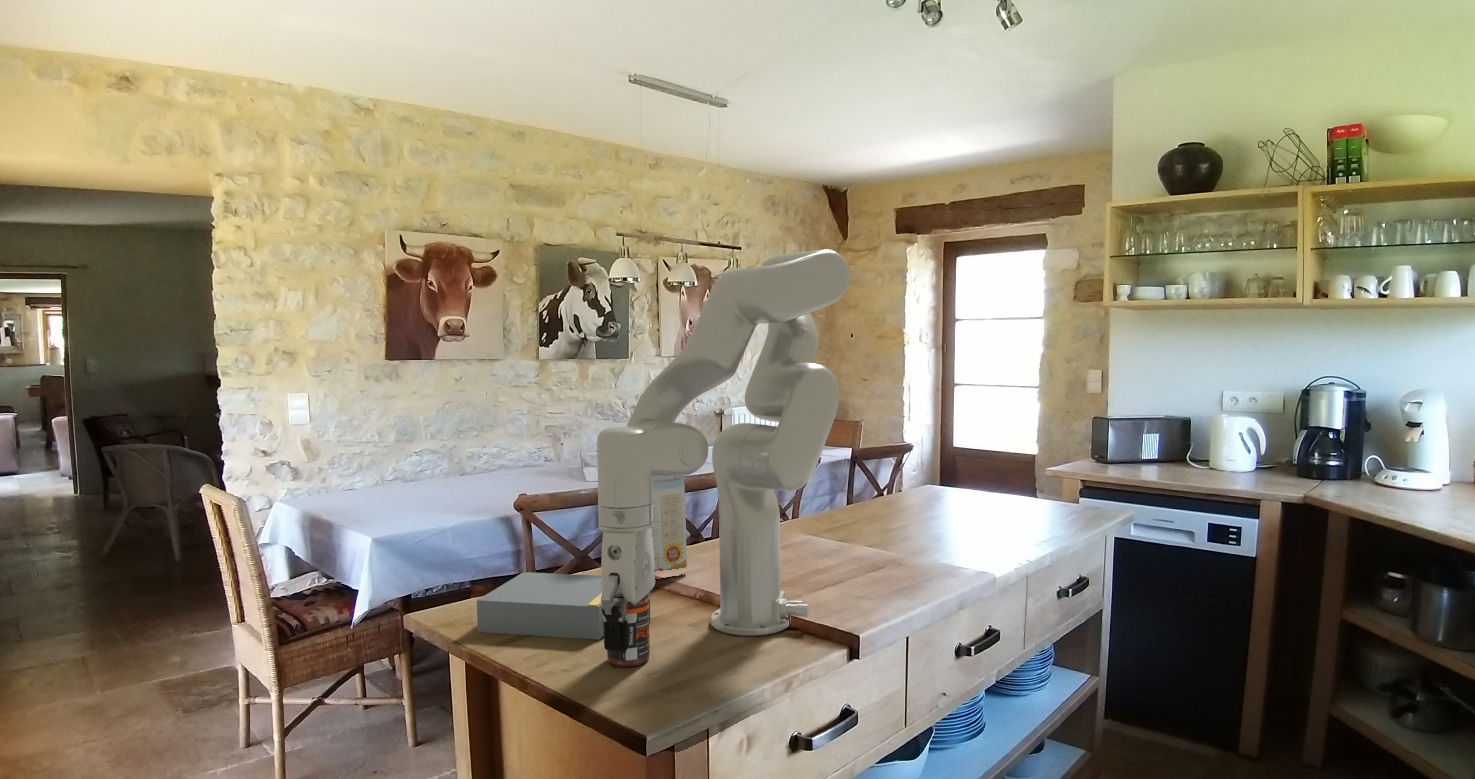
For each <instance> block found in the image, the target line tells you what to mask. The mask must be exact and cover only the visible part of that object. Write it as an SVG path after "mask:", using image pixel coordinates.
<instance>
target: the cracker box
mask: <svg viewBox="0 0 1475 779" xmlns="http://www.w3.org/2000/svg"><path fill="white" fill-rule="evenodd" d="M685 483H686V482H685V476H654V477H653V478H652V486H653V527H651V530H652V538H653V548H654V563H655V572H656V571H663V570H672V569H679V568H685V567H687V568H688V562H687V561H688V559H687V557H688V556H687V524H686V523H687V522H686V521H687V520H686V518H687V517H686V488H685V487H686V486H685Z"/></svg>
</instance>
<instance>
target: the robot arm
mask: <svg viewBox="0 0 1475 779" xmlns="http://www.w3.org/2000/svg"><path fill="white" fill-rule="evenodd" d="M850 272H851V271H850V268H849V265H848V263H847V261H846V260H845V258H844V257H843V256H842V255H841V254H840V253H838V252H836V251H835V250H832V249H815V250H807V251H801V252H800V251H799V252H792V253H791V252H790V253H784V254H778V255H774V256H772V257H770V258H768V259H766V260H764V261H763V263H761V265H760V266H754V267H753V266H752V267H745V268H736V269H732V270H729V271H727V272H725V273H722V275H721V276H719V277H718V278H717V279H716V281H715V283H714V285H713V287H712V289H711V291H710V293H709V294H708V297H707V299H706V301H705V304H704V306H703V308H702V310H701V312H700V314H699V316H698V318H697V320H696V322H695V324H694V327H693V329H692V331H691V334H690V335H689V337H688V339H687V342H686V344H685V346H684V347H683V348H682V351H681V352H680V353H679V354H678V355H677V356H676V357H675V358H674V359H673V360H672V361H670V362H669V364H668V365H666V367H665V368H663V370H661V372H660V373H659V374H658V375H657V376H656V377H655V378H654V379H653V380H652V381H651V382H650V384H648V386H647V387H646V388H645V390H644V391H643V392H642V394H641V395H640V397H639V399H638V401H637V403H636V405H635V407H634V409H633V411H632V413H631V414H630V417H629V419H628V422H627V425H626V426H616V427H615V426H614V427H613V426H612V427H608V428H605V429H602V430H601V431H600V432H599V434H598V435H597V438H596V456H597V457H596V459H597V461H596V463H597V467H596V468H597V503H598V505H597V506H598V509H597V510H598V529H599V530H600V531H603V532H602V544H601V564H600V566H601V569H600V570H601V571H600V574H601V575H600V576H601V587H602V595H601V603H602V607H603V608H602V613H603V622H604V636H603V642H604V643H603V644H604V645H603V646H604V649H605V650H606V651H607V650H615V651H626V650H627V649H628V621H625V617H626V612H627V607H628V602H631V604H636V603H638V602H639V601H640V600H641V599H642V598H643V597H644V596H645V595H646V596H647V597H648V599H649V626H650V625H651V599H650V597H651V591H652V590H653V588H654V587H655V584H656V580H655V563H654V548H653V538H652V530H651V527H653V486H652V478H653V477H654V476H684V477H685V476H690V475H692V474H694V473H696V472H698V471H699V470H700V469H701V468H702V467H703V466H704V465H705V463H706V461H707V459H708V456H709V444H708V441H707V438H706V437H705V435H704V433H703V432H701V430H699V429H698V428H696V427H694V426H693V425H689V424H685V423H680V422H676V420H677V419H678V417H679V416H680V414H681V413H682V412H683V411H684V409H685V408H686V407H687V406H688V405H689V404H690V403H691V402H693V401H694V400H695V399H697V397H700V396H701V395H703V394H705V393H707V392H708V391H711V390H713V389H715V388H717V387H718V386H721V385H723V383H725V382H727V381H728V380H730V379H731V378H732V377H734V376H735V374H736V372H737V370H738V368H739V366H740V363H741V361H742V358H743V356H744V355H745V352H746V350H747V347H748V345H749V342H750V341H751V338H752V336H753V334H754V332H755V330H756V328H757V326H758V325H759V324H767V326H768V330H767V334H766V338H765V340H764V342H763V346H762V349H761V351H760V353H759V355H758V358H757V360H756V362H755V365H754V368H753V370H752V372H751V375H750V378H749V380H748V383H747V386H746V388H745V393H744V403H745V407H746V410H747V411H748V412H749V413H750V414H751V415H752V416H753V417H755V418H757V419H759V420H763V421H768V422H773V423H777V426H776V425H769V424H762V423H761V424H760V423H749V422H745V423H744V422H742V423H741V422H740V423H735V424H731V425H729V426H727V427H725V428H724V429H723V430H721V431H720V433H719V434H718V435H717V436H716V438H715V440H714V442H713V445H712V452H711V460H712V462H711V463H712V469H713V473H714V477H715V482H716V488H717V495H718V496H717V498H718V518H719V519H718V520H719V521H718V522H719V526H718V528H719V529H718V530H719V531H718V532H719V541H718V542H719V544H718V545H719V593H720V594H719V598H720V599H719V600H720V601H719V604H720V605H719V606H720V608H718V609H716V610H715V611H714V612H712V613H711V615H710V624H711V626H712V627H713V628H714V629H716V630H717V631H719V632H721V633H725V634H729V635H733V636H746V637H748V636H750V637H752V636H764V635H765V636H767V635H771V634H776V633H779V632H781V631H784V630H785V629H787V628H788V627H789V626H790V625H789V620H786V619H782V618H787V617H788V615H790V617H791V616H793V617H794V616H796V617H797V616H798V617H799V618H808V617H809V604H807V603H803V601H802V600H788V598H785V595H786V594H785V590H781V540H780V538H781V536H780V535H781V532H780V531H781V530H780V528H781V527H780V526H781V522H780V521H781V516H780V515H781V514H780V512H781V511H780V507H779V502H778V499H777V495H776V493H775V491H780V492H794V491H797V490H799V489H801V488H802V487H804V486H806V484H807V483H808V482H809V480H811V478H812V476H813V474H814V473H815V471H816V468H817V466H818V464H819V460H820V458H821V455H822V454H823V450H824V448H825V444H827V441H828V436H829V434H830V433H831V429H832V426H833V424H834V420H835V418H836V414H837V411H838V407H839V402H840V399H839V398H840V396H839V395H840V394H839V393H840V392H839V391H840V390H839V385H838V382H837V379H836V377H835V375H834V373H833V372H831V370H830V369H828V368H827V367H826V366H824V365H821V364H818V363H814V361H815V357H816V353H817V351H818V348H819V334H818V330H817V326H816V324H815V321H814V318H813V316H812V314H811V313H814V312H816V311H818V310H822V309H824V308H827V307H828V306H831V305H834V304H836V303H838V302H839V300H841V299H842V298H843V297H844V296H845V294H846V292H847V290H848V288H849V286H850V280H851V273H850ZM619 584H620V585H619ZM614 596H617V597H624V598H614ZM614 605H621V608H620V612H619V610H618V608H617V606H614Z"/></svg>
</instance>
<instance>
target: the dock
mask: <svg viewBox="0 0 1475 779" xmlns="http://www.w3.org/2000/svg"><path fill="white" fill-rule="evenodd" d="M601 595H602V587H601V575H592V574H569V573H549V572H548V573H547V572H529V571H527V572H525V571H523V572H522V573H520V574H518V575H516V576H515V577H513V578H511V579H510V580H508V581H506V582H505V583H503V584H502V585H500V586H498V587H496V588H495V589H493V590H491V591H490V592H488V593H486V594H484V595H483V596H481V597H480V598H478V599H477V600H476V614H477V615H476V617H477V618H476V619H477V621H476V622H477V624H476V625H477V633H488V634H502V635H503V634H504V635H521V636H533V637H534V636H535V637H537V636H538V637H549V638H550V637H552V638H569V639H581V640H582V639H583V640H584V639H585V640H598V641H599V640H601V639H602V638H604V622H603V613H602V608H603V607H602V603H601Z"/></svg>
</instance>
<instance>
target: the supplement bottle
mask: <svg viewBox="0 0 1475 779" xmlns="http://www.w3.org/2000/svg"><path fill="white" fill-rule="evenodd" d="M619 585H620V584H619ZM614 598H624V597H617V596H614ZM649 599H650V598H648V597H647V596H646V595H645V596H644V597H643V598H642V599H641V600H640V601H639V602H638V603H636V604H631V602H628V607H627V612H626V617H625V621H628V649H627V650H626V651H615V650H606V653H607V660H608V663H610V664H612V665H614V666H617V667H624V668H625V667H626V668H627V667H629V668H630V667H636V666H639V665H642V664H644V663H646V662H647V661H648V660H649V658H650V653H651V650H650V649H651V648H650V643H651V642H650V625H649ZM614 606H617V608H618V610H619V612H620V608H621V605H614Z"/></svg>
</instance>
